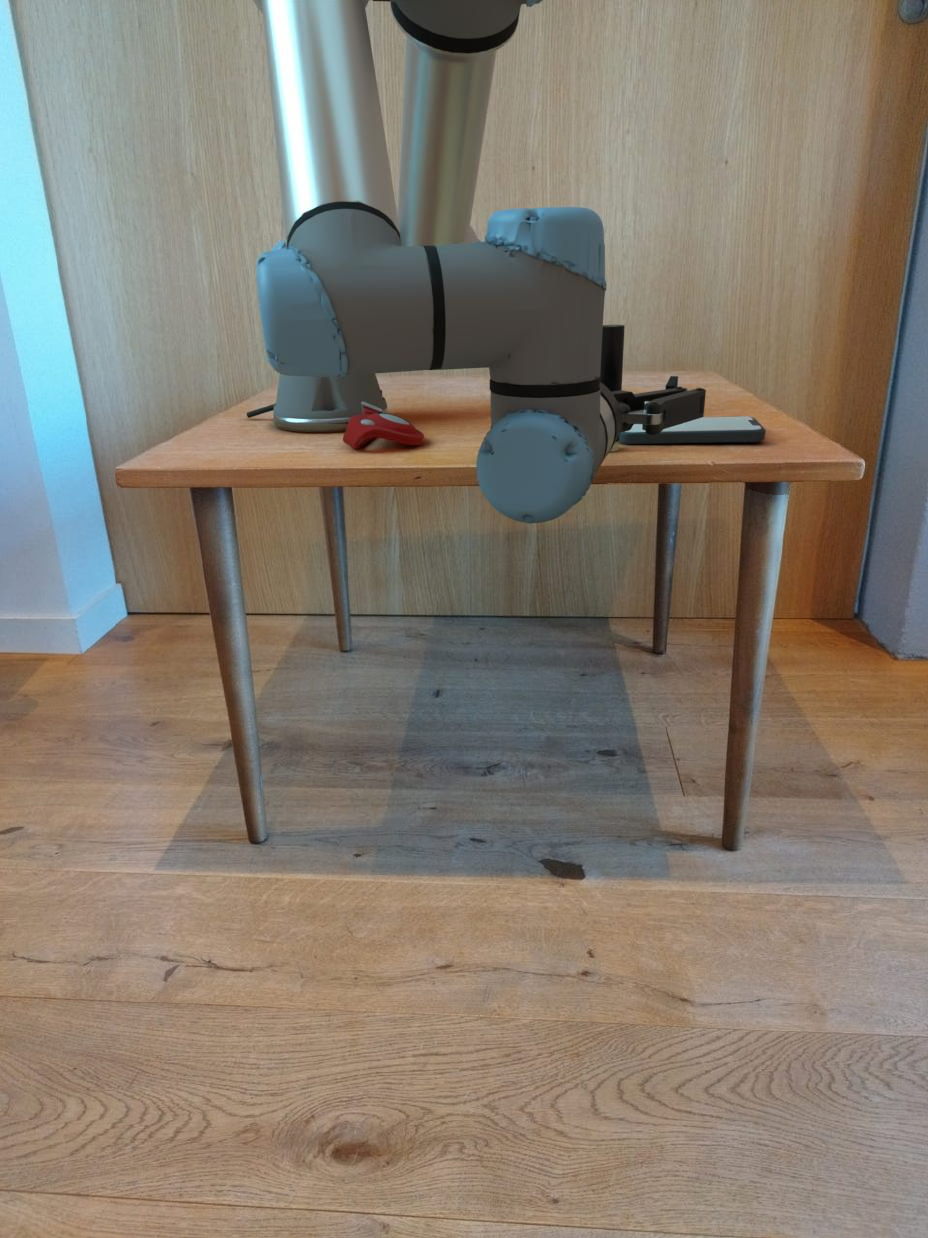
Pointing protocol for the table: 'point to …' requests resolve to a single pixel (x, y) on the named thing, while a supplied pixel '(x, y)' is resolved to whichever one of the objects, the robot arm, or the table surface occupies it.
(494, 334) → the robot arm
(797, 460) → the table surface
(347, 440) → the red curved piece
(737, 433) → the phone case
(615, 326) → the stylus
